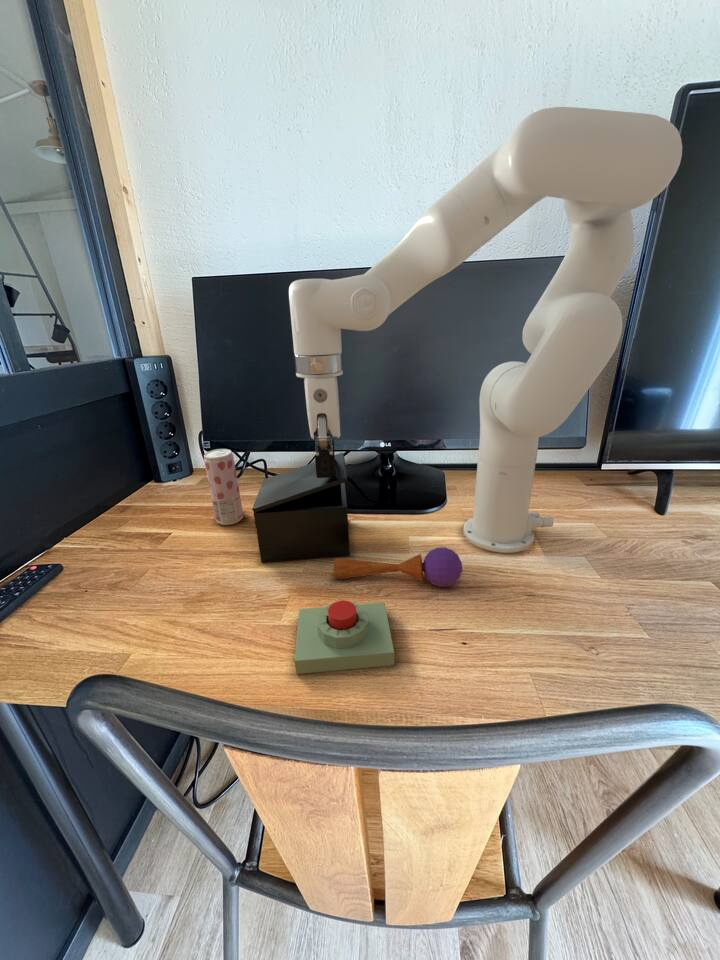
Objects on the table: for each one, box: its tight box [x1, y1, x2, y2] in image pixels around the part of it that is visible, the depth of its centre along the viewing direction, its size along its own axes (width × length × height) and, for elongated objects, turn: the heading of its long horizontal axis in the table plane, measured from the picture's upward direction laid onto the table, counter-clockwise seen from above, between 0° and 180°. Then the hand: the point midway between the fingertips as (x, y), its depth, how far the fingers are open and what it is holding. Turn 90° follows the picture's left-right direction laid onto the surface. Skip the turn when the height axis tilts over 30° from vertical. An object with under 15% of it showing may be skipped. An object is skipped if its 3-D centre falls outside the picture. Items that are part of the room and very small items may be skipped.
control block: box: [294, 600, 395, 675], centre depth 52 cm, size 12×9×4 cm
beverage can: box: [203, 448, 244, 526], centre depth 82 cm, size 6×6×15 cm
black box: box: [253, 482, 351, 564], centre depth 74 cm, size 16×13×10 cm
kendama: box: [333, 546, 463, 588], centre depth 63 cm, size 6×6×20 cm
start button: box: [328, 599, 357, 631], centre depth 51 cm, size 4×4×2 cm
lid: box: [252, 452, 348, 514], centre depth 70 cm, size 16×13×5 cm
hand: (326, 467), depth 71 cm, fingers open, 7 cm apart
